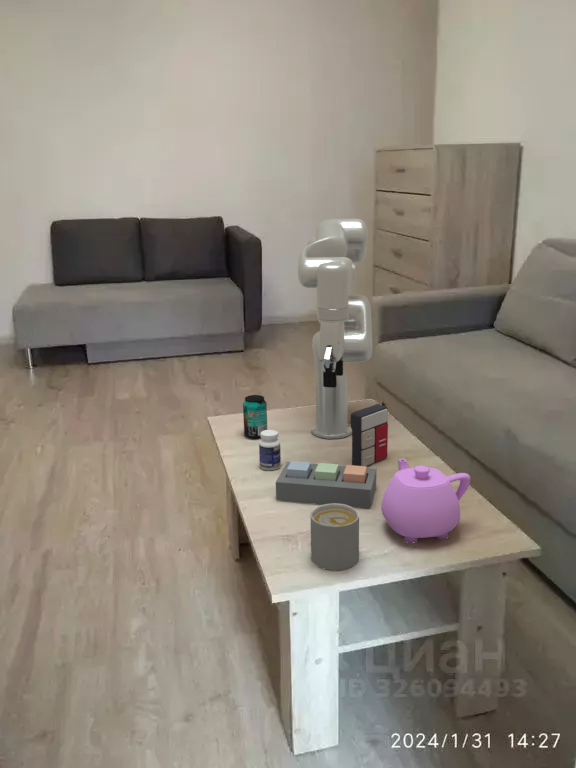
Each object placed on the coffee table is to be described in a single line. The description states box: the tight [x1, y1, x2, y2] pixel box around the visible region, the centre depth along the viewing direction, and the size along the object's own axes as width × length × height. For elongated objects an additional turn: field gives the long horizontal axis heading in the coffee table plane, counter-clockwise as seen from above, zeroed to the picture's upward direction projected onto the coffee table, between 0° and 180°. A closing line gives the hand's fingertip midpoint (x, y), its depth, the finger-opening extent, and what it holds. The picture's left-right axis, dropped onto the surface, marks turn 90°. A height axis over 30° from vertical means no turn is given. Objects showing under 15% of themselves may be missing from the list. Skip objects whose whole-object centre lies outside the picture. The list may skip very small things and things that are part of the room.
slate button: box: [287, 460, 312, 479], centre depth 176 cm, size 5×5×5 cm
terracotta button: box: [343, 464, 368, 484], centre depth 173 cm, size 5×5×5 cm
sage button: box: [315, 462, 340, 481], centre depth 174 cm, size 5×5×5 cm
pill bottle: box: [258, 429, 282, 471], centre depth 190 cm, size 6×6×10 cm
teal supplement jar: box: [242, 394, 268, 440], centre depth 212 cm, size 7×7×12 cm
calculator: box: [350, 403, 389, 467], centre depth 191 cm, size 11×4×15 cm, turn 131°
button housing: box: [275, 461, 377, 510], centre depth 175 cm, size 12×23×5 cm, turn 77°
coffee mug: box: [310, 503, 360, 571], centre depth 148 cm, size 13×10×10 cm
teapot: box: [380, 458, 472, 544], centre depth 158 cm, size 20×20×15 cm
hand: (333, 380), depth 178 cm, fingers open, 9 cm apart
